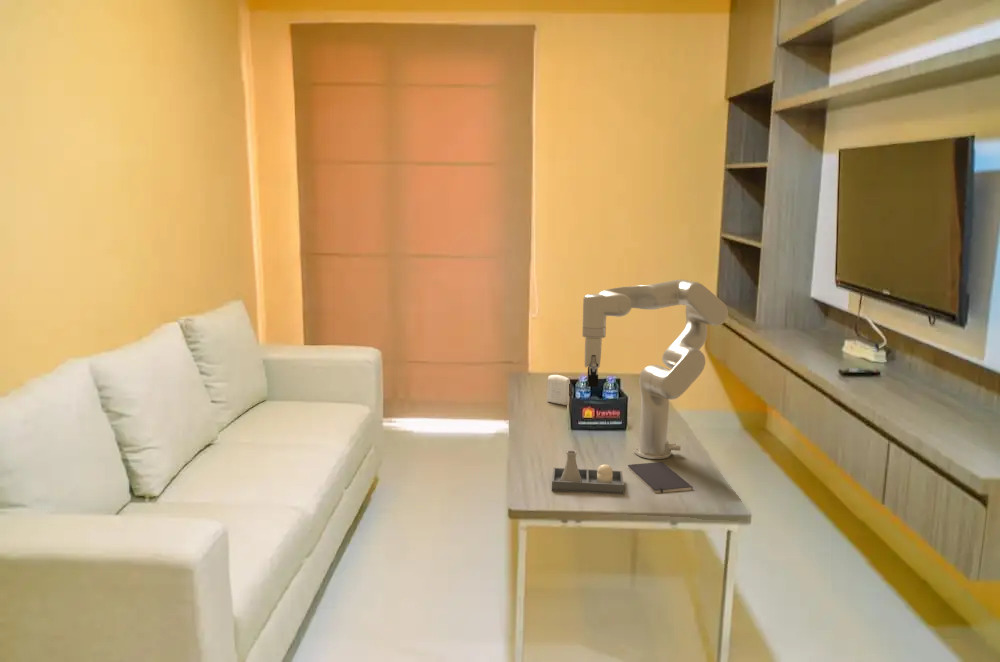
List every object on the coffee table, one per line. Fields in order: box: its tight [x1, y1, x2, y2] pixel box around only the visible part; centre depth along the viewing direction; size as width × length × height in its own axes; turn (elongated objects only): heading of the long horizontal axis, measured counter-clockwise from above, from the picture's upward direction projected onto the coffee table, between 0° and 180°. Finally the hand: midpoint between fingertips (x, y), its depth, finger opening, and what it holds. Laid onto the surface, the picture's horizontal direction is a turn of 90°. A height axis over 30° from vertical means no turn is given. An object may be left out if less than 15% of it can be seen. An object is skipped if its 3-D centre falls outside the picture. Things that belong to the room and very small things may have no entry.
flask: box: [560, 450, 582, 482], centre depth 224 cm, size 7×7×10 cm
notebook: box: [627, 461, 693, 494], centre depth 230 cm, size 13×2×21 cm
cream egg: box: [596, 463, 614, 484], centre depth 223 cm, size 5×5×6 cm
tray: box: [551, 467, 625, 495], centre depth 224 cm, size 22×11×3 cm, turn 84°
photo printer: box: [546, 374, 571, 406], centre depth 310 cm, size 10×4×12 cm, turn 57°
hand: (592, 382), depth 237 cm, fingers open, 9 cm apart
